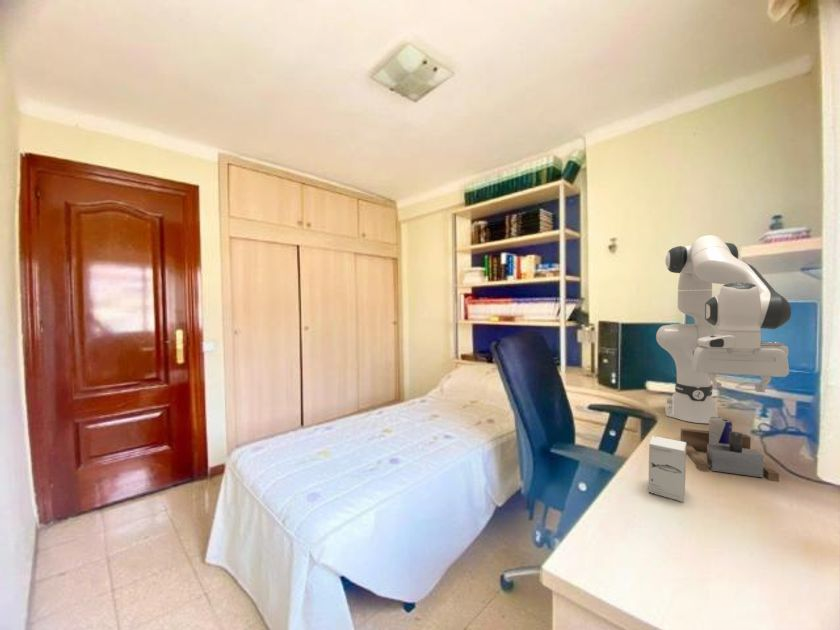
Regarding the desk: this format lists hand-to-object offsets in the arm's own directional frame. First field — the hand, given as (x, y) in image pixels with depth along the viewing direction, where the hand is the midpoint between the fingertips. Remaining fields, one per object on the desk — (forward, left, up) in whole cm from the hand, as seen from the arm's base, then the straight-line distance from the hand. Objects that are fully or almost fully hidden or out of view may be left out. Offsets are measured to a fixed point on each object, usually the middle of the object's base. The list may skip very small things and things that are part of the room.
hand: (738, 390), depth 98 cm
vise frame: (-6, -1, -23) cm, 24 cm away
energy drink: (-9, -1, -23) cm, 25 cm away
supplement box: (+20, -21, -23) cm, 37 cm away
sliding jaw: (+1, -1, -23) cm, 23 cm away
